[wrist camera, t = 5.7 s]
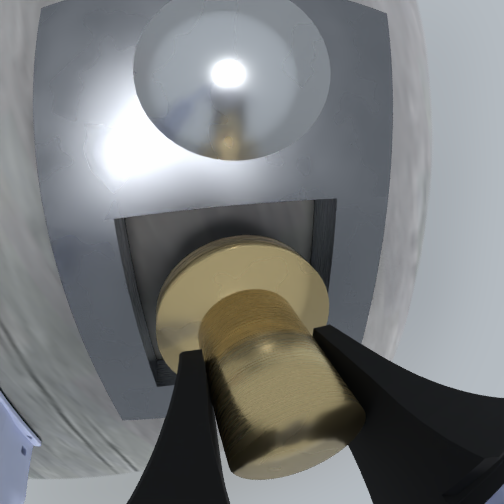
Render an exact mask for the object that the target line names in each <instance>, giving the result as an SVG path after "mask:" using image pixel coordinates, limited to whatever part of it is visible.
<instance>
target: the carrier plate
mask: <svg viewBox="0 0 504 504" xmlns="http://www.w3.org/2000/svg"><path fill="white" fill-rule="evenodd" d="M33 121H34V140H35V152H36V162H37V171H38V178H39V185H40V192H41V198H42V204H43V209H44V214H45V219H46V224H47V229H48V233H49V238H50V242H51V246H52V250H53V254H54V257H55V261H56V265H57V268H58V272H59V275H60V278H61V282H62V285H63V288H64V291H65V294H66V297H67V300H68V303H69V306H70V308H71V311H72V314H73V317H74V319H75V322H76V325H77V327H78V330H79V332H80V335H81V337H82V340H83V342H84V344H85V347H86V349H87V351H88V353H89V356H90V358H91V360H92V362H93V364H94V367H95V369H96V371H97V373H98V375H99V377H100V379H101V381H102V383H103V385H104V387H105V389H106V391H107V393H108V395H109V397H110V398H111V400H112V402H113V404H114V406H115V408H116V409H117V411H118V413H119V415H120V416H121V418H122V420H138V419H153V418H164V417H166V414H167V411H168V408H169V404H170V401H171V397H172V393H173V389H174V385H175V381H176V376H177V374H176V373H175V372H173V371H172V370H171V368H170V367H169V366H168V365H167V364H166V362H165V360H164V359H163V360H156V357H155V354H154V350H153V347H152V343H151V340H150V336H149V333H148V329H147V325H146V321H145V318H144V314H143V310H142V305H141V301H140V297H139V293H138V288H137V284H136V279H135V275H134V270H133V265H132V260H131V254H130V249H129V243H128V238H127V232H126V226H125V219H124V218H126V217H133V216H141V215H149V214H157V213H165V212H174V211H183V210H192V209H201V208H211V207H222V206H233V205H244V204H256V203H269V202H283V201H298V200H315V207H314V226H313V243H312V257H311V266H312V267H313V268H314V269H315V270H316V271H317V273H318V274H319V275H320V277H321V278H322V280H323V282H324V284H325V286H326V289H327V293H328V297H329V316H328V321H327V324H326V325H329V324H330V325H332V326H333V327H335V328H337V329H338V330H340V331H341V332H343V333H345V334H346V335H348V336H349V337H351V338H352V339H354V340H356V341H357V342H359V343H360V344H361V343H362V339H363V335H364V331H365V327H366V323H367V319H368V315H369V310H370V306H371V301H372V297H373V292H374V287H375V282H376V277H377V271H378V266H379V260H380V254H381V248H382V242H383V235H384V228H385V220H386V212H387V203H388V193H389V183H390V170H391V154H392V129H393V88H392V64H391V49H390V38H389V28H388V19H387V13H384V12H381V11H379V10H376V9H373V8H370V7H367V6H364V5H361V4H358V3H355V2H352V1H348V0H64V1H61V2H58V3H55V4H52V5H49V6H46V7H43V8H42V9H41V14H40V20H39V26H38V33H37V41H36V51H35V63H34V81H33ZM213 410H214V409H213Z"/></svg>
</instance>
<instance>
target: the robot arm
mask: <svg viewBox="0 0 504 504" xmlns="http://www.w3.org/2000/svg"><path fill="white" fill-rule="evenodd" d="M312 337H313V338H314V339H315V341H316V342H317V344H318V345H319V346H320V348H321V349H322V351H323V352H324V354H325V355H326V356H327V358H328V359H329V361H330V362H331V364H332V365H333V366H334V368H335V369H336V371H337V372H338V373H339V375H340V376H341V378H342V379H343V381H344V382H345V383H346V385H347V386H348V388H349V389H350V391H351V392H352V393H353V395H354V396H355V398H356V399H357V401H358V402H359V403H360V405H361V406H362V408H363V409H364V411H365V413H366V419H365V423H364V425H363V427H362V429H361V430H360V432H359V433H358V435H357V436H356V437H355V438H354V439H353V440H352V441H351V442H350V443H349V444H348V446H349V448H350V450H351V452H352V454H353V456H354V458H355V460H356V463H357V465H358V467H359V469H360V471H361V474H362V476H363V479H364V481H365V483H366V486H367V488H368V491H369V493H370V496H371V499H372V502H373V504H504V398H496V397H489V396H482V395H477V394H472V393H468V392H464V391H460V390H457V389H454V388H450V387H447V386H444V385H441V384H438V383H436V382H433V381H430V380H428V379H426V378H423V377H421V376H418V375H416V374H414V373H412V372H410V371H408V370H406V369H404V368H402V367H400V366H398V365H396V364H394V363H392V362H391V361H389V360H387V359H385V358H383V357H382V356H380V355H378V354H377V353H375V352H373V351H372V350H370V349H368V348H367V347H365V346H364V345H362V344H360V343H359V342H357V341H356V340H354V339H352V338H351V337H349V336H348V335H346V334H345V333H343V332H341V331H340V330H338V329H337V328H335V327H333V326H332V325H330V324H329V325H325V326H321V327H317V328H313V336H312ZM33 446H41V441H40V440H39V439H38V437H37V436H36V435H35V434H34V433H33V432H32V431H31V430H30V428H29V427H28V426H27V425H26V424H25V423H24V421H23V420H22V419H21V418H20V416H19V415H18V414H17V413H16V411H15V410H14V409H13V408H12V406H11V405H10V404H9V402H8V401H7V400H6V398H5V397H4V395H3V394H2V393H1V391H0V504H24V501H25V497H26V489H27V480H28V473H29V467H30V461H31V455H32V449H33ZM127 504H230V501H229V498H228V494H227V491H226V487H225V483H224V478H223V473H222V466H221V459H220V452H219V444H218V437H217V429H216V422H215V415H214V410H213V405H212V401H211V397H210V390H209V384H208V379H207V373H206V368H205V362H204V358H203V353H202V349H198V350H191V351H183V352H181V353H180V354H179V363H178V370H177V376H176V381H175V385H174V389H173V393H172V397H171V401H170V404H169V408H168V411H167V414H166V417H165V420H164V423H163V426H162V429H161V432H160V435H159V438H158V440H157V443H156V445H155V448H154V450H153V453H152V455H151V457H150V460H149V462H148V464H147V466H146V468H145V470H144V472H143V475H142V476H141V479H140V481H139V483H138V485H137V486H136V489H135V490H134V492H133V494H132V496H131V498H130V499H129V501H128V502H127Z"/></svg>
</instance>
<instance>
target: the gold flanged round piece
mask: <svg viewBox="0 0 504 504" xmlns="http://www.w3.org/2000/svg"><path fill="white" fill-rule="evenodd" d="M328 316H329V297H328V293H327V289H326V286H325V284H324V282H323V280H322V278H321V277H320V275H319V274H318V273H317V271H316V270H315V269H314V268H313V267H312V266H311V265H310V264H309V263H308V262H307V261H306V260H305V259H304V258H303V257H302V256H301V255H300V254H298V253H297V252H296V251H295V250H294V249H292V248H291V247H290V246H288V245H286V244H284V243H282V242H280V241H278V240H275V239H272V238H269V237H263V236H258V235H238V236H231V237H226V238H222V239H219V240H216V241H213V242H210V243H208V244H206V245H204V246H202V247H199V248H198V249H196V250H195V251H193V252H192V253H190V254H189V255H187V256H186V257H185V258H184V259H183V260H181V261H180V262H179V263H178V264H177V265H176V267H175V268H174V269H173V270H172V271H171V272H170V274H169V275H168V277H167V278H166V280H165V282H164V284H163V286H162V288H161V290H160V293H159V296H158V300H157V307H156V339H157V343H158V348H159V350H160V353H161V355H162V357H163V359H164V360H165V362H166V364H167V365H168V366H169V367H170V368H171V370H172V371H173V372H175V373H176V374H177V370H178V363H179V354H180V353H181V352H183V351H191V350H198V349H202V353H203V358H204V362H205V368H206V373H207V379H208V384H209V390H210V397H211V401H212V405H213V409H214V413H215V417H216V421H217V425H218V429H219V433H220V436H221V440H222V444H223V447H224V451H225V454H226V458H227V461H228V465H229V468H230V470H231V472H233V474H235V475H237V476H239V477H241V478H245V479H252V480H265V479H274V478H280V477H284V476H289V475H292V474H296V473H298V472H301V471H304V470H307V469H309V468H311V467H313V466H316V465H318V464H320V463H322V462H324V461H325V460H327V459H329V458H330V457H332V456H333V455H335V454H336V453H338V452H339V451H341V450H342V449H343V448H344V447H346V446H347V445H348V444H349V443H350V442H351V441H352V440H353V439H354V438H355V437H356V436H357V435H358V433H359V432H360V430H361V429H362V427H363V425H364V423H365V419H366V413H365V411H364V409H363V408H362V406H361V405H360V403H359V402H358V401H357V399H356V398H355V396H354V395H353V393H352V392H351V391H350V389H349V388H348V386H347V385H346V383H345V382H344V381H343V379H342V378H341V376H340V375H339V373H338V372H337V371H336V369H335V368H334V366H333V365H332V364H331V362H330V361H329V359H328V358H327V356H326V355H325V354H324V352H323V351H322V349H321V348H320V346H319V345H318V344H317V342H316V341H315V339H314V338H313V337H312V336H313V328H317V327H321V326H325V325H326V324H327V321H328Z"/></svg>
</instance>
